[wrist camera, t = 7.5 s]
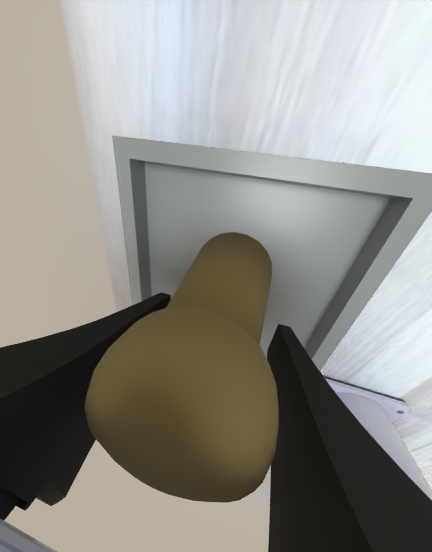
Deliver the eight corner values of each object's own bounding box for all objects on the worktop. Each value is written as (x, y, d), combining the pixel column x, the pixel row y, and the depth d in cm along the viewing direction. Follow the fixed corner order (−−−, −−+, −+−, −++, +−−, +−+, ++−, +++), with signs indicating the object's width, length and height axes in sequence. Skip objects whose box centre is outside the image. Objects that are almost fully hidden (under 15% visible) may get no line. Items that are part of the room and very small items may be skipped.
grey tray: (299, 371, 17) (304, 393, 15) (148, 325, 19) (136, 339, 17) (415, 180, 9) (456, 176, 7) (136, 145, 11) (112, 135, 10)
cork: (278, 297, 13) (330, 576, 3) (209, 306, 15) (121, 498, 6) (263, 221, 11) (288, 395, 1) (185, 243, 13) (-26, 377, 3)
